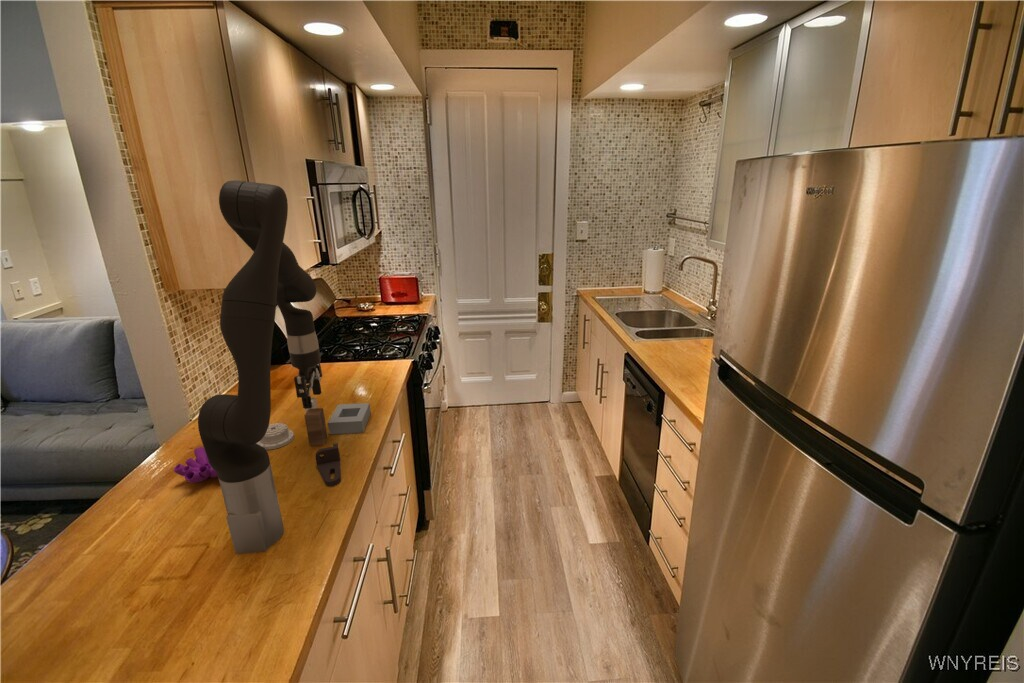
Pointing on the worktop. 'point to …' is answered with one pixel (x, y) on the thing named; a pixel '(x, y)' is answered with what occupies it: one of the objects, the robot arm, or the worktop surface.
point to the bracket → (329, 464)
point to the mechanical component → (276, 436)
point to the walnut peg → (316, 427)
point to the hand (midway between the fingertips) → (312, 400)
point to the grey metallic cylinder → (313, 404)
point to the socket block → (349, 418)
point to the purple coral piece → (196, 467)
